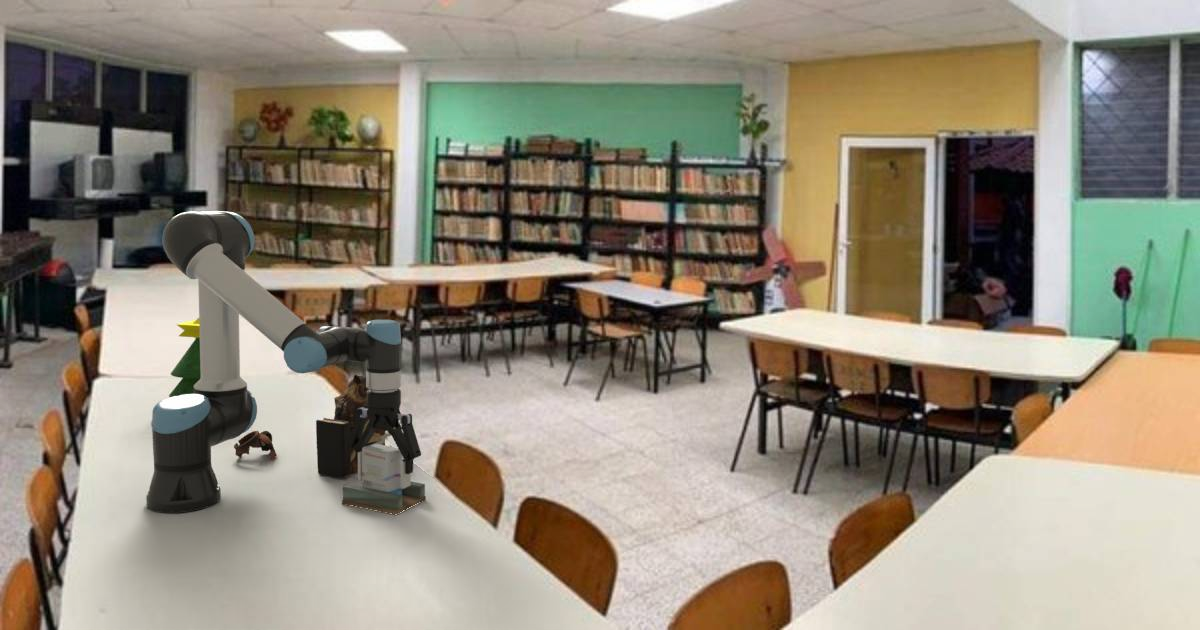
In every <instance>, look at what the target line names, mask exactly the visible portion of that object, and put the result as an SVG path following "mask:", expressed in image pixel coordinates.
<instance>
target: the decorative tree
mask: <svg viewBox="0 0 1200 630" xmlns="http://www.w3.org/2000/svg"><path fill="white" fill-rule="evenodd" d="M175 325H176V326H177V327H180V329H182V330H183V332H181V333H180V334H179V335H178V337H181V338H182V337H185V338H194V340H193V342H192V343H191V344H190V346H189V347H188V348H187V350H186V351H185V353H184V354H183V356H182V357H181V358H180V359H179V361H178V363H177V364H176V366H175V367H174V368H173V370H172V371H171V372H170V375H171V376H172V377H176V378H181V380H180V381H179V382H178V383H177V385H176V386H175V387H174V389H173V390H172V391H171V392H170V393H169V394H168V398H169V397H173V396H180V395H183V394H194V385H195V384H196V383H197V382H198V381H199V380H200V378H201V369H200V328H199V317H197V318H196V320H190V321H186V322H180V323H177V324H175Z"/></svg>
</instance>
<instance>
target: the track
mask: <svg viewBox="0 0 1200 630" xmlns="http://www.w3.org/2000/svg"><path fill="white" fill-rule="evenodd" d="M425 485H426V484H425V483H421V482H416V481H411V486H408V487H406V488H404V489H402V495H399V494H394V493H389V492H384V491H379V490H374V489H369V488H364V487H362V486H357V485H352V484H345V485H343V486H342V499H341V504H342V505H344V504H347V505H346V506H349V505H353V506H352V507H354V506H357V507H356V508H359V507H362V508H361V509H363V508H368V509H372V510H371V511H373V510H377V511H376V512H378V511H381V512H380V513H383V512H387V513H392V514H398V513H400V512H402V511H403V510H406V509H407V508H409V507H411V506H413V505H415V504H417V503H419V502H421V503H423V502H425V501H426V499H427V498H426V495H425V494H426V486H425ZM424 500H425V501H424ZM422 501H423V502H422ZM368 509H367V510H368ZM406 511H407V510H406ZM387 513H386V514H387ZM402 513H403V512H402ZM392 514H391V515H392ZM400 514H401V513H400ZM398 515H399V514H398Z"/></svg>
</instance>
